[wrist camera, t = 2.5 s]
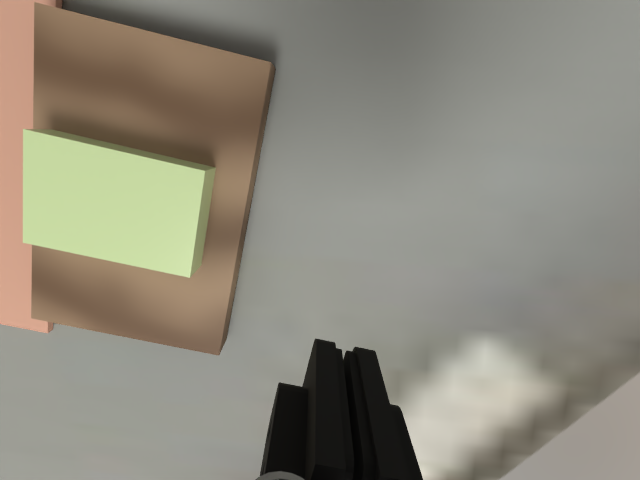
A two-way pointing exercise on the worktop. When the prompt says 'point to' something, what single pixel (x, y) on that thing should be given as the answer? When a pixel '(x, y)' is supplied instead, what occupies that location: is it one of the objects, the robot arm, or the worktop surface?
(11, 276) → the mat
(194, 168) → the sponge
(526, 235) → the worktop surface
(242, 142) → the plate
